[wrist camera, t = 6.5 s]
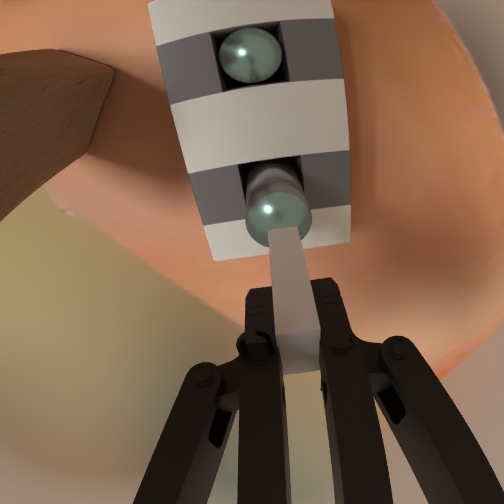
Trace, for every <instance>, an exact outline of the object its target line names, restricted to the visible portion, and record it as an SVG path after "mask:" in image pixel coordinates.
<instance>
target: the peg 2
mask: <svg viewBox="0 0 504 504" xmlns="http://www.w3.org/2000/svg"><path fill="white" fill-rule="evenodd" d="M245 223H246V228H247V231H248V233H249V234H250V236H251V237H252V238H253V239H254V240H255V241H256V242H257V243H259V244H261V245H263V246H265V247H269V242H268V230H273V229H281V228H288V227H295V226H297V228H298V232H299V236H300V240H302V239H303V238H304V237H305V236H306V235H307V233H308V232H309V230H310V227H311V224H312V213H311V210H310V207H309V204H308V202H307V199H306V196H305V194H304V191H303V189H302V186H301V184H300V181H299V179H298V176H297V174H296V171H295V169H294V167H293V165H292V164H291V163H290V162H289V161H288V160H287V159H285V158H283V157H281V158H274V159H267V160H260V161H255V162H253V164H252V165H251V166H250V168H249V170H248V173H247V190H246V218H245Z"/></svg>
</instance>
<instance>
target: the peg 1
mask: <svg viewBox="0 0 504 504" xmlns="http://www.w3.org/2000/svg"><path fill="white" fill-rule="evenodd" d="M219 59H220V63H221V66H222V68H223V69H224V71H225V72H226V73H227V74H228V75H229V76H230V77H232V78H234V79H235V80H238V81H241V82H246V83H256V82H260V81H263V80H265V79H267V78H269V77H271V76H272V75H273V74H274V73H275V72H276V71H277V69H278V68H279V66H280V63H281V59H282V51H281V47H280V45H279V43H278V41H277V40H276V39H275V37H273V36H272V35H271V34H270V33H268V32H266V31H264V30H262V29H258V28H243V29H239V30H237V31H235V32H233V33H231V34H230V35H229V36H228V37H227V38H226V39H225V40H224V41H223V43H222V45H221V48H220V52H219Z"/></svg>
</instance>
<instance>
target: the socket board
mask: <svg viewBox="0 0 504 504" xmlns="http://www.w3.org/2000/svg"><path fill="white" fill-rule="evenodd" d="M147 4H148V9H149V14H150V19H151V24H152V29H153V34H154V38H155V43H156V47H157V52H158V56H159V61H160V65H161V70H162V74H163V78H164V82H165V86H166V91H167V95H168V99H169V103H170V107H171V111H172V115H173V119H174V123H175V126H176V130H177V134H178V138H179V142H180V145H181V149H182V153H183V156H184V160H185V164H186V167H187V171H188V175H189V178H190V182H191V185H192V189H193V192H194V196H195V199H196V203H197V206H198V209H199V213H200V216H201V220H202V223H203V226H204V230H205V233H206V236H207V239H208V243H209V246H210V249H211V252H212V256H213V259H214V261H221V260H228V259H236V258H243V257H250V256H257V255H264V254H269V247H265V246H263V245H261V244H259V243H257V242H256V241H255V240H254V239H253V238H252V237H251V236H250V234H249V233H248V231H247V228H246V223H245V218H246V190H247V171H246V166H245V163H248V162H254V161H260V160H267V159H274V158H281V157H289V156H292V161H293V167H294V169H295V171H296V174H297V176H298V179H299V181H300V184H301V186H302V189H303V191H304V194H305V196H306V199H307V202H308V204H309V207H310V210H311V213H312V224H311V227H310V230H309V232H308V233H307V235H306V236H305V237H304V238H303V239H302V240H301V244H302V248H303V249H307V248H314V247H322V246H329V245H336V244H343V243H350V231H351V176H350V149H349V131H348V118H347V106H346V95H345V86H344V77H343V69H342V62H341V55H340V48H339V42H338V36H337V30H336V25H335V19H334V14H333V9H332V4H331V0H155V1H153V2H150V3H147ZM243 28H258V29H262V30H264V31H266V32H268V33H270V34H272V35H273V37H275V39H276V40H277V41H278V43H279V45H280V47H281V51H282V59H281V63H280V66H279V73H280V79H281V80H272V81H265V82H258V83H251V84H245V85H239V86H234V87H230V86H229V81H228V76H227V73H226V72H225V71H224V69H223V68H222V66H221V63H220V59H219V52H220V48H221V42H222V41H224V40H225V39H226V38H227V37H228V36H229V35H230V34H231V33H233V32H235V31H237V30H239V29H243Z"/></svg>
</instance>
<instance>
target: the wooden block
mask: <svg viewBox="0 0 504 504" xmlns="http://www.w3.org/2000/svg"><path fill="white" fill-rule="evenodd" d="M113 78H114V71H113V70H112V69H111V68H110V67H109V66H107V65H104V64H101V63H98V62H95V61H92V60H89V59H86V58H82V57H79V56H76V55H73V54H69V53H66V52H62V51H59V50H55V49H41V50H30V51H21V52H14V53H7V54H1V55H0V221H2V220H3V219H4V218H5V217H6V216H7V215H8V214H9V213H10V212H11V211H12V210H13V209H14V208H15V207H17V206H18V205H19V204H20V203H21V202H22V201H24V200H25V199H26V198H27V197H28V196H30V195H31V194H32V193H33V192H34V191H36V190H37V189H38V188H39V187H41V186H42V185H43V184H44V183H46V182H47V181H48V180H49V179H51V178H52V177H53V176H55V175H56V174H57V173H59V172H60V171H61V170H63V169H64V168H66V167H67V166H68V165H70V164H71V163H73V162H74V161H75V160H77V159H78V158H80V157H81V156H83V155H84V154H85V152H86V151H87V149H88V146H89V143H90V139H91V136H92V133H93V130H94V127H95V124H96V121H97V118H98V116H99V113H100V110H101V107H102V105H103V102H104V100H105V97H106V95H107V92H108V90H109V87H110V85H111V82H112V80H113Z"/></svg>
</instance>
